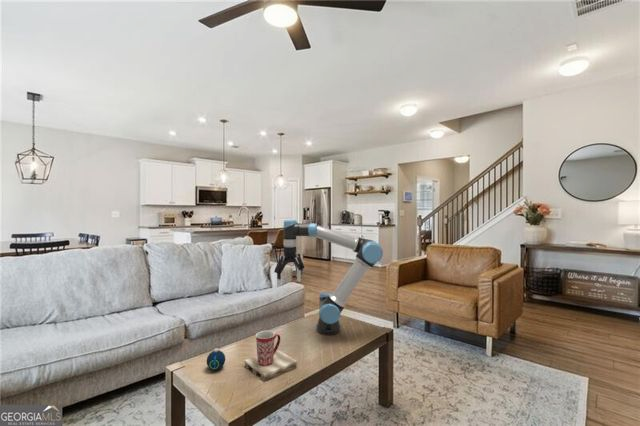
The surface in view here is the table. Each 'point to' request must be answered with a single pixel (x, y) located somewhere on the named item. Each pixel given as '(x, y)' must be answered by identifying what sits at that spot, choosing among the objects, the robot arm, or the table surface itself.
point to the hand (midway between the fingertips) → (289, 282)
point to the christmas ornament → (215, 359)
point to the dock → (276, 368)
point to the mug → (266, 347)
